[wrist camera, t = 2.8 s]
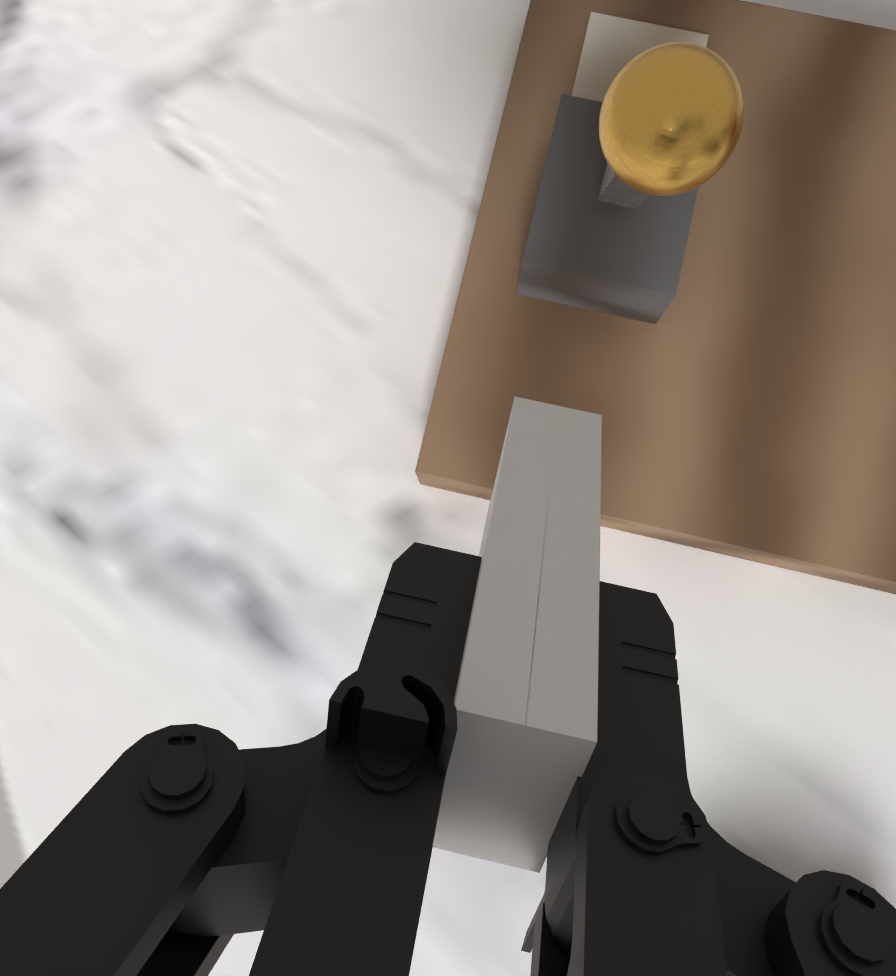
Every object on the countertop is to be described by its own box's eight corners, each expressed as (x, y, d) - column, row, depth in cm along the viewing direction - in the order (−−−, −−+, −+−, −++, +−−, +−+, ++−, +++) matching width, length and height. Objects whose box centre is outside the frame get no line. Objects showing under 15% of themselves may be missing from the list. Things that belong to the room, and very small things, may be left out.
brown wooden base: (1096, 131, 32) (1234, 29, 26) (1029, 625, 29) (1165, 631, 23) (533, 19, 33) (547, -102, 27) (419, 483, 30) (409, 457, 25)
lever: (678, 147, 24) (781, 37, 14) (653, 240, 25) (734, 199, 15) (588, 128, 25) (627, 7, 14) (566, 221, 25) (588, 169, 15)
